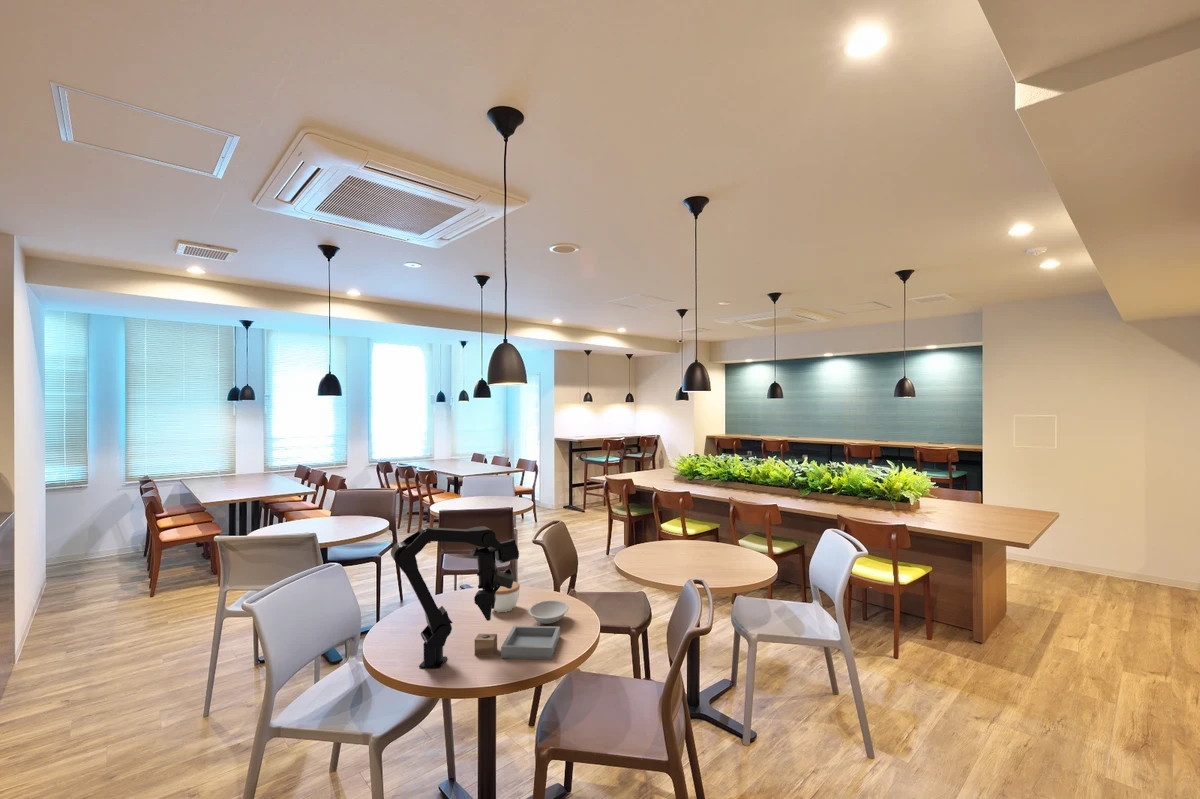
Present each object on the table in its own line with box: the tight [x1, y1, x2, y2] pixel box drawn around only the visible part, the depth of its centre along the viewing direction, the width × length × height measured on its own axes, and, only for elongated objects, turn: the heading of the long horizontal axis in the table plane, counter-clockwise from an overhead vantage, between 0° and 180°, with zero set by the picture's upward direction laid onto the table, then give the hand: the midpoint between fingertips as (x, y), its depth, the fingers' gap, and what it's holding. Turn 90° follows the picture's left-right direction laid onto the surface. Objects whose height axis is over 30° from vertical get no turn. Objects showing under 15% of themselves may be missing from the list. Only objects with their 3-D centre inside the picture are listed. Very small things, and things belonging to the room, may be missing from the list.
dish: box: [528, 599, 570, 625], centre depth 187 cm, size 18×14×5 cm
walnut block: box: [474, 633, 498, 657], centre depth 165 cm, size 4×6×5 cm
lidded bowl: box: [493, 580, 521, 613], centre depth 201 cm, size 13×13×11 cm
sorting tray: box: [500, 625, 561, 660], centre depth 168 cm, size 16×16×4 cm
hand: (490, 614), depth 167 cm, fingers open, 9 cm apart
